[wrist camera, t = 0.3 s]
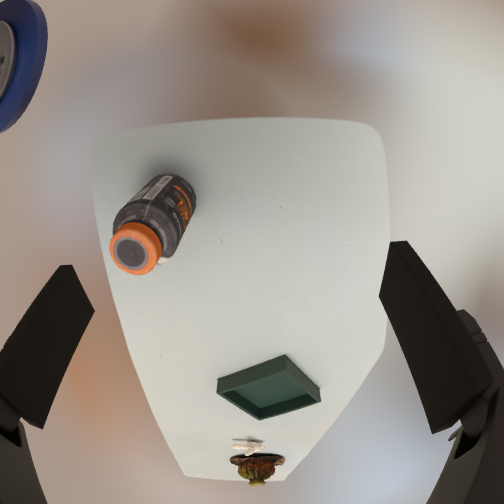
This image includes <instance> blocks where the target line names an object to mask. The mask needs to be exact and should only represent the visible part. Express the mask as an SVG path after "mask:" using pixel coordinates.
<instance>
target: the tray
mask: <svg viewBox="0 0 504 504" xmlns="http://www.w3.org/2000/svg"><path fill="white" fill-rule="evenodd" d="M217 394H219V395H220V396H222V397H223V398H225V399H226V400H228V401H229V402H231V403H232V404H234V405H235V406H237V407H238V408H240V409H241V410H243V411H245V412H246V413H248V414H249V415H251V416H253V417H254V418H256V419H258V420H263V419H267V418H270V417H274V416H278V415H281V414H285V413H288V412H291V411H295V410H298V409H301V408H304V407H307V406H310V405H313V404H316V403H319V402H321V398H320V391H319V388H318V387H317V386H316V385H315V384H314V383H313V382H312V381H311V380H310V379H309V378H308V377H307V376H306V375H305V374H304V373H303V372H302V371H301V370H300V369H299V368H298V367H297V366H296V365H295V364H294V363H293V362H292V361H291V360H290V359H289V358H288V357H287V356H286V355H283V356H280V357H278V358H275V359H272V360H270V361H267V362H265V363H262V364H259V365H257V366H254V367H251V368H248V369H246V370H243V371H240V372H237V373H234V374H231V375H229V376H226V377H223V378H220V379H218V383H217Z"/></svg>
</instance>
